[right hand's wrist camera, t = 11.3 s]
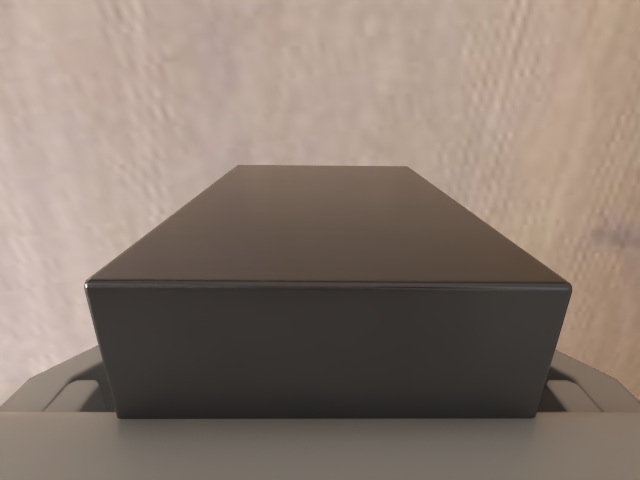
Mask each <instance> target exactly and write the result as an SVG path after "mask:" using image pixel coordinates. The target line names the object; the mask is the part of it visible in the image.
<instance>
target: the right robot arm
mask: <svg viewBox="0 0 640 480" xmlns="http://www.w3.org/2000/svg"><path fill="white" fill-rule="evenodd" d="M0 480H640V401H639V400H638V399H637V398H636V397H634V396H633V395H632V394H631V393H630V392H629V391H628V390H627V389H626V388H625V387H624V386H623V385H622V384H621V383H620V382H619V381H618V380H617V379H615V378H613V377H611V376H609V375H607V374H605V373H602V372H600V371H598V370H596V369H594V368H592V367H590V366H588V365H586V364H584V363H582V362H580V361H578V360H576V359H574V358H571V357H569V356H567V355H565V354H563V353H561V352H559V351H557V350H555V352H554V355H553V359H552V362H551V365H550V369H549V372H548V376H547V379H546V383H545V386H544V389H543V393H542V396H541V400H540V403H539V407H538V410H537V413H536V417H535V418H532V419H119V418H117V415H116V411H115V407H114V403H113V399H112V395H111V392H110V388H109V384H108V380H107V376H106V372H105V368H104V364H103V360H102V356H101V352H100V348H99V345H98V346H96V347H93V348H91V349H89V350H87V351H85V352H83V353H81V354H79V355H77V356H75V357H73V358H71V359H69V360H67V361H65V362H63V363H61V364H59V365H57V366H54V367H52V368H50V369H48V370H46V371H44V372H42V373H40V374H38V375H36V376H34V377H32V378H30V379H29V380H28V381H27V382H25V383H24V384H23V385H22V386H21V387H20V388H19V389H18V390H17V391H16V392H15V393H14V394H13V395H12V396H11V397H10V398H9V399H8V400H7V401H6V402H5V403H4V404H3V405H2V406H1V407H0Z"/></svg>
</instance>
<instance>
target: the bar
mask: <svg viewBox="0 0 640 480" xmlns="http://www.w3.org/2000/svg"><path fill="white" fill-rule="evenodd" d="M84 289H85V293H86V297H87V301H88V305H89V309H90V313H91V317H92V321H93V325H94V329H95V332H96V336H97V340H98V344H99V348H100V352H101V356H102V360H103V364H104V368H105V372H106V376H107V380H108V384H109V388H110V392H111V395H112V399H113V403H114V407H115V411H116V415H117V418H119V419H532V418H535V417H536V413H537V410H538V407H539V403H540V400H541V396H542V393H543V389H544V386H545V383H546V379H547V376H548V372H549V369H550V365H551V362H552V359H553V355H554V352H555V348H556V345H557V341H558V338H559V334H560V331H561V328H562V324H563V321H564V317H565V314H566V310H567V307H568V304H569V300H570V297H571V293H572V286H571V284H570V283H569V282H567V281H566V280H565V279H563V278H562V277H561V276H559V275H558V274H556V273H555V272H554V271H552V270H551V269H549V268H548V267H547V266H545V265H544V264H542V263H541V262H540V261H538V260H537V259H535V258H534V257H533V256H531V255H530V254H529V253H527V252H526V251H524V250H523V249H522V248H520V247H519V246H517V245H516V244H515V243H513V242H512V241H510V240H509V239H508V238H506V237H505V236H503V235H502V234H501V233H499V232H498V231H497V230H495V229H494V228H492V227H491V226H490V225H488V224H487V223H485V222H484V221H483V220H481V219H480V218H478V217H477V216H476V215H474V214H473V213H471V212H470V211H469V210H467V209H466V208H465V207H463V206H462V205H460V204H459V203H458V202H456V201H455V200H453V199H452V198H451V197H449V196H448V195H446V194H445V193H444V192H442V191H441V190H439V189H438V188H437V187H435V186H434V185H433V184H431V183H430V182H428V181H427V180H426V179H424V178H423V177H421V176H420V175H419V174H417V173H416V172H414V171H413V170H412V169H410V168H409V167H407V166H286V165H238V166H236V167H235V168H233V169H232V170H231V171H229V172H228V173H227V174H225V175H224V176H223V177H221V178H220V179H219V180H217V181H216V182H215V183H214V184H212V185H211V186H210V187H208V188H207V189H206V190H204V191H203V192H202V193H200V194H199V195H198V196H196V197H195V198H194V199H192V200H191V201H190V202H189V203H187V204H186V205H185V206H183V207H182V208H181V209H179V210H178V211H177V212H175V213H174V214H173V215H171V216H170V217H169V218H168V219H166V220H165V221H164V222H162V223H161V224H160V225H158V226H157V227H156V228H154V229H153V230H152V231H150V232H149V233H148V234H146V235H145V236H144V237H143V238H141V239H140V240H139V241H137V242H136V243H135V244H133V245H132V246H131V247H129V248H128V249H127V250H125V251H124V252H123V253H121V254H120V255H119V256H118V257H116V258H115V259H114V260H112V261H111V262H110V263H108V264H107V265H106V266H104V267H103V268H102V269H100V270H99V271H98V272H97V273H95V274H94V275H93V276H91V277H90V278H89V279H87V280H86V282H85V285H84Z"/></svg>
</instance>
